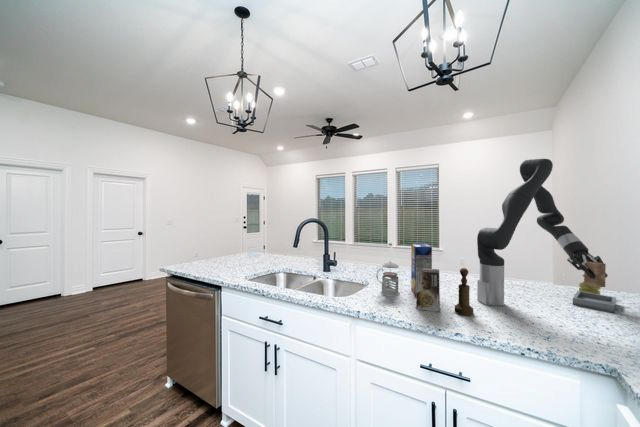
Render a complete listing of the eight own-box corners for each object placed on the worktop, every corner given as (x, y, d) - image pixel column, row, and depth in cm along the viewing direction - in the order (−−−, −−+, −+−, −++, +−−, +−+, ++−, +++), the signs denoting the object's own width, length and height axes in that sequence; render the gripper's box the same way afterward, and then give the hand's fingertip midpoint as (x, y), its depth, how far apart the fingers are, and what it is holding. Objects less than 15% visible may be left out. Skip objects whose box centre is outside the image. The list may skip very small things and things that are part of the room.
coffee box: (439, 306, 112) (439, 269, 112) (439, 312, 107) (439, 272, 106) (417, 303, 116) (417, 267, 116) (415, 308, 110) (415, 270, 110)
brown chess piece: (471, 311, 108) (471, 267, 107) (475, 317, 102) (475, 270, 101) (453, 309, 110) (453, 266, 110) (456, 314, 104) (456, 269, 103)
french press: (403, 296, 126) (403, 244, 126) (378, 296, 126) (378, 244, 126) (397, 290, 136) (397, 241, 135) (374, 290, 136) (374, 241, 136)
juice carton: (411, 289, 137) (411, 243, 137) (426, 290, 136) (426, 243, 135) (415, 296, 125) (415, 246, 125) (431, 297, 124) (431, 247, 124)
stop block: (595, 287, 112) (595, 263, 112) (584, 284, 117) (584, 261, 117) (605, 287, 112) (605, 263, 112) (594, 284, 117) (594, 261, 117)
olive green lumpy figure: (590, 291, 132) (590, 272, 132) (605, 296, 125) (605, 275, 125) (574, 291, 133) (574, 271, 133) (588, 296, 126) (588, 275, 125)
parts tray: (614, 312, 105) (614, 305, 105) (572, 304, 114) (572, 297, 114) (615, 304, 115) (616, 297, 115) (577, 297, 124) (577, 290, 124)
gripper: (562, 240, 121) (590, 273, 110) (592, 240, 122) (623, 272, 110) (552, 250, 127) (577, 282, 115) (581, 249, 127) (608, 281, 115)
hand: (599, 277), depth 113 cm, fingers closed on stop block, 4 cm apart
